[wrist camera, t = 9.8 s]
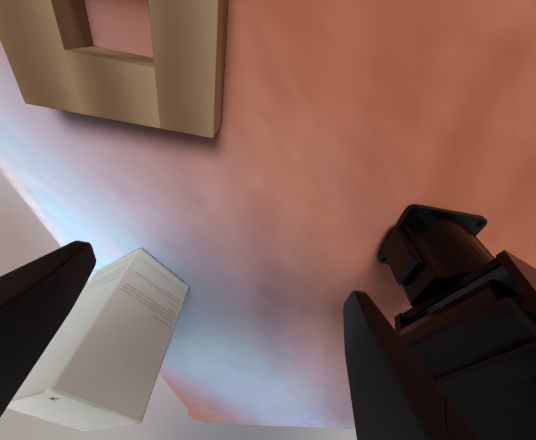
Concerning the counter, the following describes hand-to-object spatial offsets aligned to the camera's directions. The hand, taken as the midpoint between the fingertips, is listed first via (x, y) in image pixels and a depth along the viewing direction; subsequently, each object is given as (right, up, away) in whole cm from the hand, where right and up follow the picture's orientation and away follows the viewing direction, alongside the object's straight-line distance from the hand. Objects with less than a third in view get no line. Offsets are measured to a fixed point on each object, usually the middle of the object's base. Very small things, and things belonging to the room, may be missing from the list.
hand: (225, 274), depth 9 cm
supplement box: (-12, -5, +20) cm, 24 cm away
